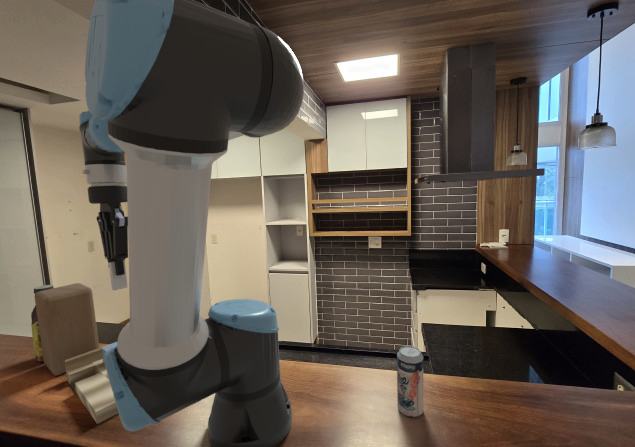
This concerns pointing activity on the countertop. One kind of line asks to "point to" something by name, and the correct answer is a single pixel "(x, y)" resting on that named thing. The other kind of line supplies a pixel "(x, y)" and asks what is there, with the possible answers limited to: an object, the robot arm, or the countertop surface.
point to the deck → (92, 384)
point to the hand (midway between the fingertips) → (119, 288)
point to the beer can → (410, 381)
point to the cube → (107, 348)
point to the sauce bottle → (37, 327)
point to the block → (66, 324)
